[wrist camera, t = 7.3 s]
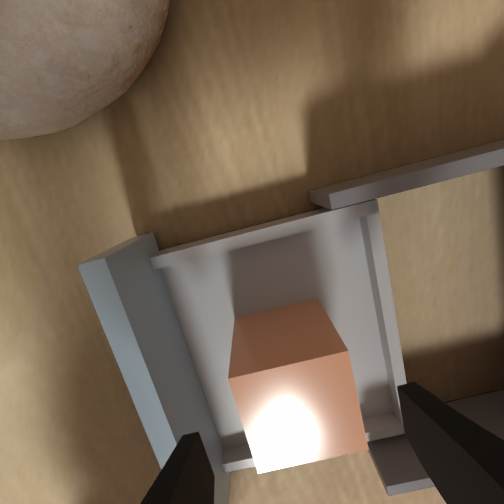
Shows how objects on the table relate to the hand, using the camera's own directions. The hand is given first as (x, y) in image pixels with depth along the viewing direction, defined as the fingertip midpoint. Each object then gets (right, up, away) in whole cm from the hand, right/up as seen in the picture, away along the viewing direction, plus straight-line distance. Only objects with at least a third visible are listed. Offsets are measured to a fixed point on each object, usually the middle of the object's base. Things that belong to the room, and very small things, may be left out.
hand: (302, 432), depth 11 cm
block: (0, +1, +6) cm, 6 cm away
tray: (+1, +2, +6) cm, 7 cm away
